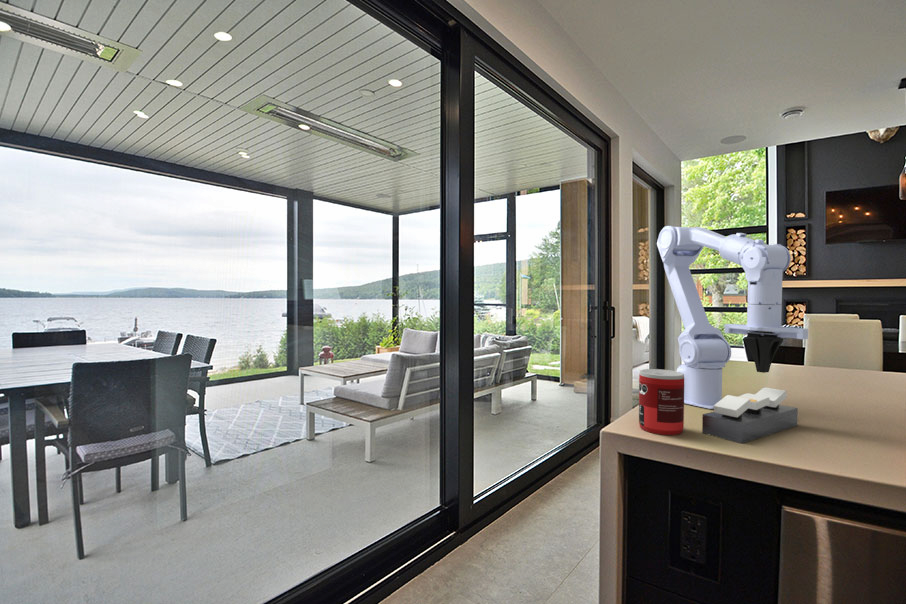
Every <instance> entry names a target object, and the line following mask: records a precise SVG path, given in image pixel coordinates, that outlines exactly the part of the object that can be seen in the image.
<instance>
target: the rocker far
mask: <svg viewBox="0 0 906 604" xmlns="http://www.w3.org/2000/svg"><path fill="white" fill-rule="evenodd" d="M754 394H755V395H761V396H767V397H769V399H770V404H769V405H767V406H770V407H776V406H778V405H781V403H782V402H783V401H785V400H786V399H787V398H788V396H787V395H788V394H787V390H785V389H784V390H782V389H778V388H772V387H767V386H766V387H763V388H761V389H760V390H758V392H756V393H754Z"/></svg>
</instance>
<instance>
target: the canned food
mask: <svg viewBox="0 0 906 604" xmlns="http://www.w3.org/2000/svg"><path fill="white" fill-rule="evenodd" d="M638 378H639V379H638V424H639V427H640V429H642V430H643V431H645V432H646V433H647V432H648V433H650V434H656V435H662V436H676V435H677V434H678V435H680V434H682V432H683V430H684V427H685V425H684V424H685V423H684V422H685V411H684V410H685V403H684V374H683V373H681V372H677V370H671V369H659V368H648V369H647V368H646V369H640V370H639V377H638Z"/></svg>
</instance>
